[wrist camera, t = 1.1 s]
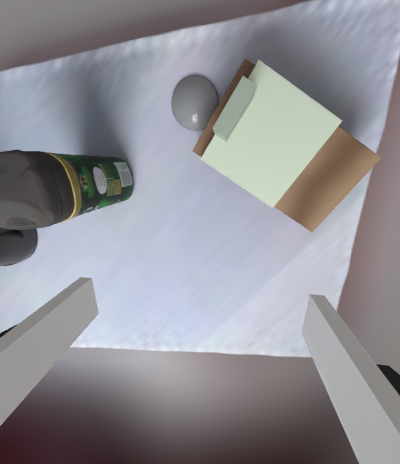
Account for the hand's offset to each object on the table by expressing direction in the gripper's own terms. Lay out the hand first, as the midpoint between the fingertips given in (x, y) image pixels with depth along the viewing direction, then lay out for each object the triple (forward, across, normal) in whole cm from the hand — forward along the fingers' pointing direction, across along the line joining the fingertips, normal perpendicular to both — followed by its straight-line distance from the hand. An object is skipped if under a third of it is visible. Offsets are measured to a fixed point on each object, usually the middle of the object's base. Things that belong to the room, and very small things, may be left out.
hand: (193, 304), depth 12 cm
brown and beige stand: (+24, +8, +9) cm, 27 cm away
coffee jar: (+24, -19, +6) cm, 32 cm away
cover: (+17, +6, +11) cm, 21 cm away
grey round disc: (+24, -4, +17) cm, 30 cm away
